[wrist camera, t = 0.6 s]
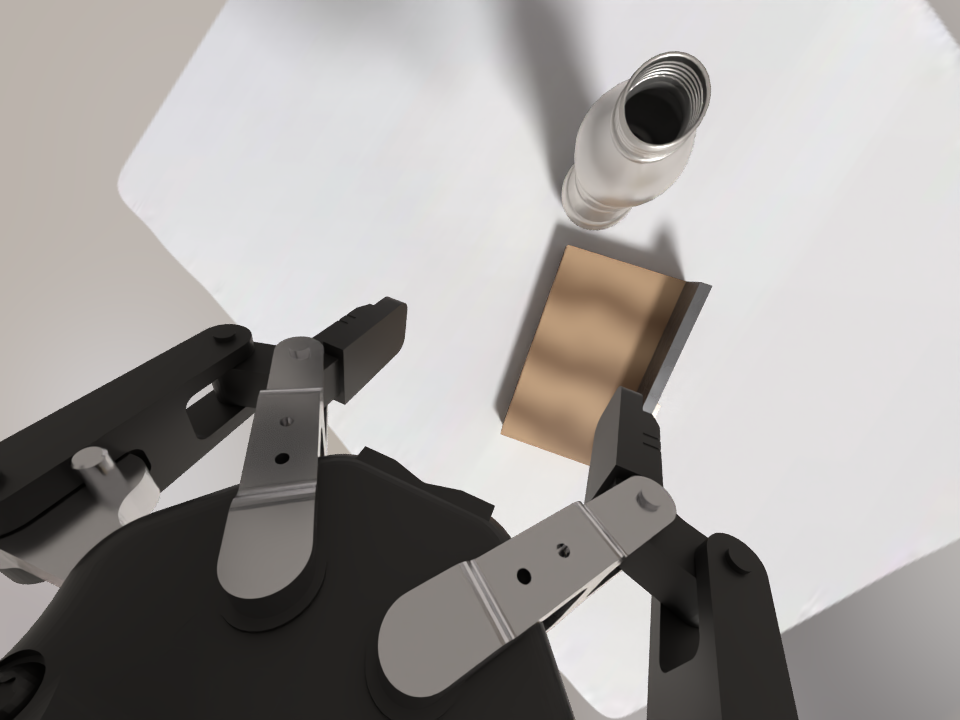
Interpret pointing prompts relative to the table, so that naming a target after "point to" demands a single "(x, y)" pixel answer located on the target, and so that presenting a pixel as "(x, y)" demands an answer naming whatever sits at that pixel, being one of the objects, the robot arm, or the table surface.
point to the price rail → (672, 343)
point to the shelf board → (587, 349)
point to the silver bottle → (636, 140)
